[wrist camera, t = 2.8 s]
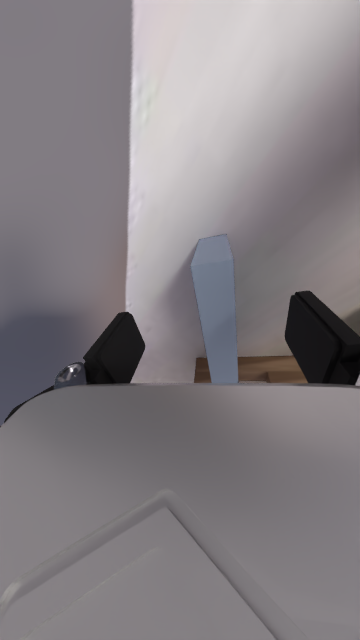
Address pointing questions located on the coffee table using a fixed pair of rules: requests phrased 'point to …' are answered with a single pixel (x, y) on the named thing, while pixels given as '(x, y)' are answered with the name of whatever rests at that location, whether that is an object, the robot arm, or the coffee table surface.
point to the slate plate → (217, 306)
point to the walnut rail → (258, 370)
